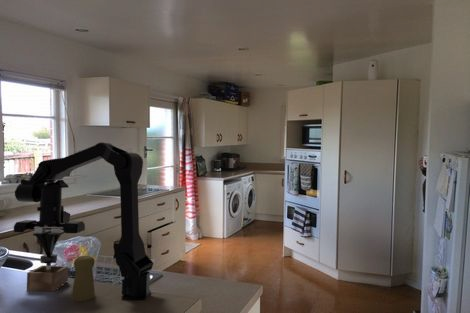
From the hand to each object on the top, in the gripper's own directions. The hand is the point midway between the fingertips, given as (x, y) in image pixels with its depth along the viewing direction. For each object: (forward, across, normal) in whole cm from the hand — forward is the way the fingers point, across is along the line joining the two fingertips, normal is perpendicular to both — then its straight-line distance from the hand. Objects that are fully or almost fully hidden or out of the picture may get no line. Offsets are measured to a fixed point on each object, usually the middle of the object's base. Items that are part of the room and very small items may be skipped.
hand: (49, 255), depth 109 cm
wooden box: (+9, 0, 0) cm, 9 cm away
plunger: (+8, 0, 0) cm, 8 cm away
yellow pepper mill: (+9, -14, +8) cm, 18 cm away
